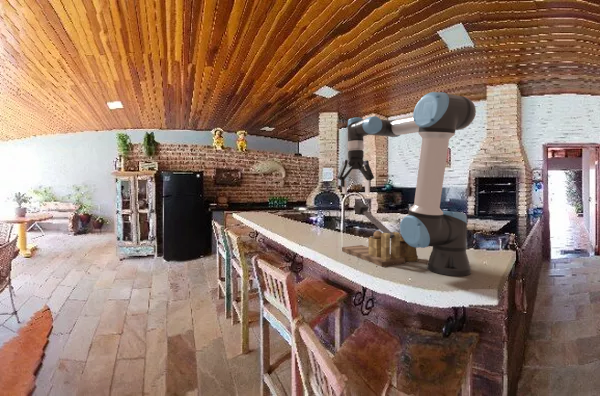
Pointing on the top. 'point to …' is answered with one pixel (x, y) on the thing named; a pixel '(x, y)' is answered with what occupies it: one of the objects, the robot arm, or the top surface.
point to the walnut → (377, 234)
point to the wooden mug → (407, 251)
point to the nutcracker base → (379, 250)
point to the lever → (370, 217)
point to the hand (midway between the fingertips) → (356, 193)
